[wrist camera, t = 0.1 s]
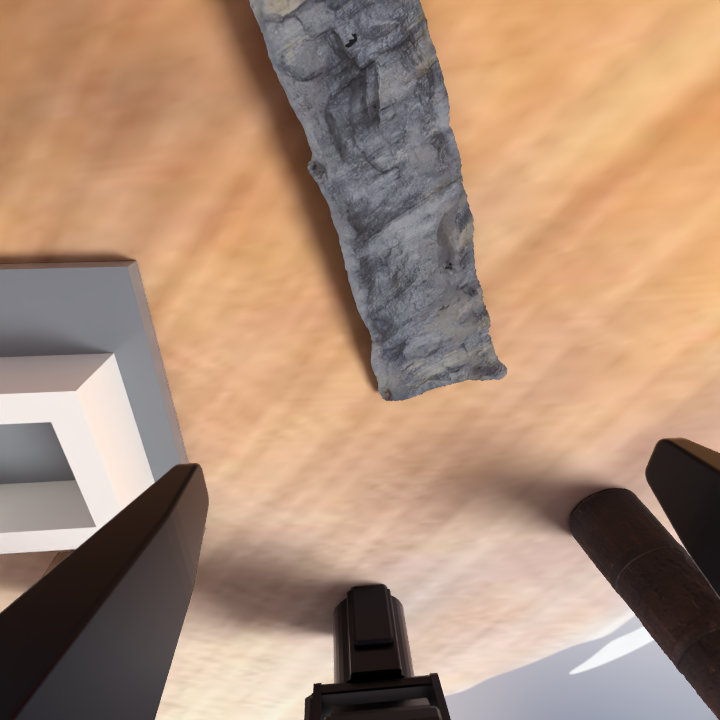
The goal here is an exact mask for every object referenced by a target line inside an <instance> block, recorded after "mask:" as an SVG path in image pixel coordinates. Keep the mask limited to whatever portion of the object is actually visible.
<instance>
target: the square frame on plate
mask: <svg viewBox="0 0 720 720" xmlns="http://www.w3.org/2000/svg"><path fill="white" fill-rule="evenodd" d="M186 463H188V459H187V455H186V451H185V447H184V443H183V439H182V435H181V431H180V428H179V424H178V420H177V416H176V412H175V408H174V404H173V400H172V397H171V393H170V389H169V385H168V381H167V377H166V373H165V369H164V365H163V362H162V358H161V354H160V350H159V346H158V342H157V338H156V334H155V330H154V327H153V323H152V319H151V315H150V311H149V307H148V303H147V299H146V295H145V292H144V288H143V284H142V280H141V276H140V272H139V268H138V264H137V261H111V262H67V263H23V264H0V554H13V553H29V552H45V551H60V550H75V549H77V548H78V547H79V546H80V545H81V544H82V543H84V542H85V541H86V540H87V539H88V538H90V537H91V536H92V535H93V534H94V533H95V532H97V531H98V530H99V529H100V528H101V527H103V526H104V525H105V524H106V523H107V522H108V521H110V520H111V519H112V518H113V517H114V516H116V515H117V514H118V513H119V512H120V511H121V510H123V509H124V508H125V507H126V506H127V505H129V504H130V503H131V502H132V501H133V500H134V499H136V498H137V497H138V496H139V495H140V494H142V493H143V492H144V491H145V490H146V489H147V488H149V487H150V486H151V485H152V484H153V483H155V482H156V481H157V480H158V479H159V478H160V477H162V476H163V475H164V474H165V473H166V472H168V471H169V470H170V469H171V468H172V467H174V466H175V465H177V464H186ZM204 532H205V528H204ZM203 535H204V533H203Z"/></svg>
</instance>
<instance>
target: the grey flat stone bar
mask: <svg viewBox="0 0 720 720" xmlns="http://www.w3.org/2000/svg"><path fill="white" fill-rule="evenodd" d="M249 2H250V7H251V9H252V10H253V13H254V15H255V18H256V20H257V22H258V24H259V26H260V30H261V32H262V33H263V35H264V41H265V43H266V46H267V51H268V57H269V58H270V60H271V62H272V64H273V69H274V70H275V72H276V73H277V76H278V79H279V82H280V84H281V85H282V87H283V89H284V91H285V93H286V95H287V98H288V101H289V103H290V105H291V107H292V108H293V109H294V111H295V113H296V116H297V118H298V119H299V121H300V122H301V124H302V126H303V128H304V130H305V134H306V136H307V140H308V144H309V146H310V148H311V151H312V159H311V161H309V163H308V170H309V172H310V174H311V176H312V177H313V178H314V180H315V182H317V183H318V185H319V188H320V190H321V192H322V194H323V196H324V197H325V199H326V201H327V203H328V205H329V207H330V208H329V209H330V211H331V218H332V220H333V224H334V226H335V228H336V230H337V233H338V235H339V243H340V246H341V249H342V250H341V252H342V254H343V259H344V262H345V270H346V271H348V281H349V283H350V286H351V290H352V294H353V296H354V299H355V302H356V306H357V309H358V312H359V314H360V315H361V318H362V320H363V321H364V323H365V326H366V327H367V328H368V330H369V331H370V335H371V336H372V337H371V340H372V341H373V343H372V346H371V349H372V350H371V351H372V353H371V356H372V357H371V365H372V368H373V371H374V374H375V376H376V377H377V382H378V384H379V385H378V391H379V393H380V394H381V396H382V398H383V399H385V400H386V401H393V400H394V401H398V400H405V399H409V398H412V397H415V396H417V395H419V394H422V393H423V392H425V391H428V390H430V389H434V388H437V387H442V386H446V385H451V384H452V383H453V384H454V383H458V382H462V381H465V380H481V381H484V380H492V379H496V380H500V379H502V378H503V377H505V375H506V374H507V368H506V367H505V365H503V364H502V363H500V361H499V360H498V357H497V356H496V354H495V351H494V347H493V344H492V341H491V337H490V335H489V334H488V333H487V332H489V330H488V329H489V327H490V317H489V314H488V312H487V310H486V306H485V305H484V302H483V296H482V289H481V286H480V284H479V281H478V279H477V276H476V269H475V259H474V249H473V248H474V244H473V231H474V226H473V216H472V214H471V211H470V209H469V204H468V202H467V194H466V193H465V190H464V187H463V184H462V181H463V179H462V174H461V166H462V165H461V159H460V154H459V151H458V149H457V144H456V141H455V138H454V134H453V131H452V129H451V127H450V126H449V121H450V117H449V109H450V106H449V103H448V94H447V90H446V87H445V85H444V78H443V75H442V71H441V68H440V64H439V61H438V58H437V56H436V50H435V47H434V45H433V44H432V41H431V39H430V35H429V31H428V26H427V19H426V18H425V16H424V12H423V9H422V6H421V3H420V0H249Z"/></svg>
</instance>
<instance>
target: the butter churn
mask: <svg viewBox="0 0 720 720" xmlns="http://www.w3.org/2000/svg"><path fill="white" fill-rule="evenodd" d="M569 523H570V526H571V528H572V530H573V531H572V532H573V537H574V538H575V540H576V541H577V542H578V543H579V545H580V546H581V547H582V548H583V550H584V551H585V552H586V554H587V555H588V556H589V558H590V559H591V560H592V561H593V563H594V564H595V565H596V567H597V568H598V569H599V571H600V572H601V573H602V574H603V575H604V577H605V578H606V579H607V581H608V582H609V583H610V584H611V586H612V587H613V588H614V589H615V591H616V592H617V593H618V594H619V595H620V596H621V597H622V598H623V600H624V601H625V602H626V603H627V604H628V606H629V607H630V609H631V610H632V611H633V612H634V613H635V615H636V616H637V617H638V618H639V619H640V621H641V623H642V625H643V626H644V627H645V629H646V630H647V631H648V632H649V634H650V635H651V637H652V638H653V639H654V640H655V641H656V642H657V643H658V645H659V646H660V647H661V649H662V650H663V651H664V653H665V654H666V655H667V656H668V657H669V659H670V660H671V661H672V662H673V663H674V665H675V666H676V668H677V669H678V670H679V672H680V673H681V674H683V675H684V676H685V678H686V680H687V681H688V682H689V683H690V684H691V685H692V687H693V688H694V689H695V690H696V692H697V694H698V695H699V696H700V697H701V698H702V700H703V701H704V702H705V703H706V704H707V706H708V707H709V708H710V709H711V710H712V712H713V713H714V714H715V715H716V716H717V718H718V719H719V720H720V599H719V597H718V596H717V594H716V593H715V591H714V590H713V588H712V587H711V586H710V584H709V583H708V581H707V580H706V578H705V577H704V575H703V574H702V573H701V571H700V570H699V568H698V567H697V565H696V564H695V562H694V561H693V559H692V558H691V557H690V556H689V554H688V553H687V551H686V550H685V549H684V548H683V547H682V546H681V545H680V544H679V543H678V542H677V541H676V540H675V539H674V538H673V537H672V535H671V534H670V533H669V532H668V531H667V530H666V529H665V527H664V526H663V525H662V524H661V523H660V522H659V521H658V520H657V518H656V517H655V516H654V515H653V514H652V513H651V512H650V510H649V509H648V508H647V507H646V506H645V505H644V504H643V503H642V502H641V501H640V500H639V499H638V497H637V496H636V495H635V494H634V493H633V492H631V491H630V490H627V489H608V490H605V491H602V492H599V493H597V494H592V495H590V496H588V498H586V499H584V500H583V501H582V502H581V503H580V504H579V505H578V506H577V508H576V509H575V510H574V512H573V514H572V515H571V517H570V521H569Z"/></svg>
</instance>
